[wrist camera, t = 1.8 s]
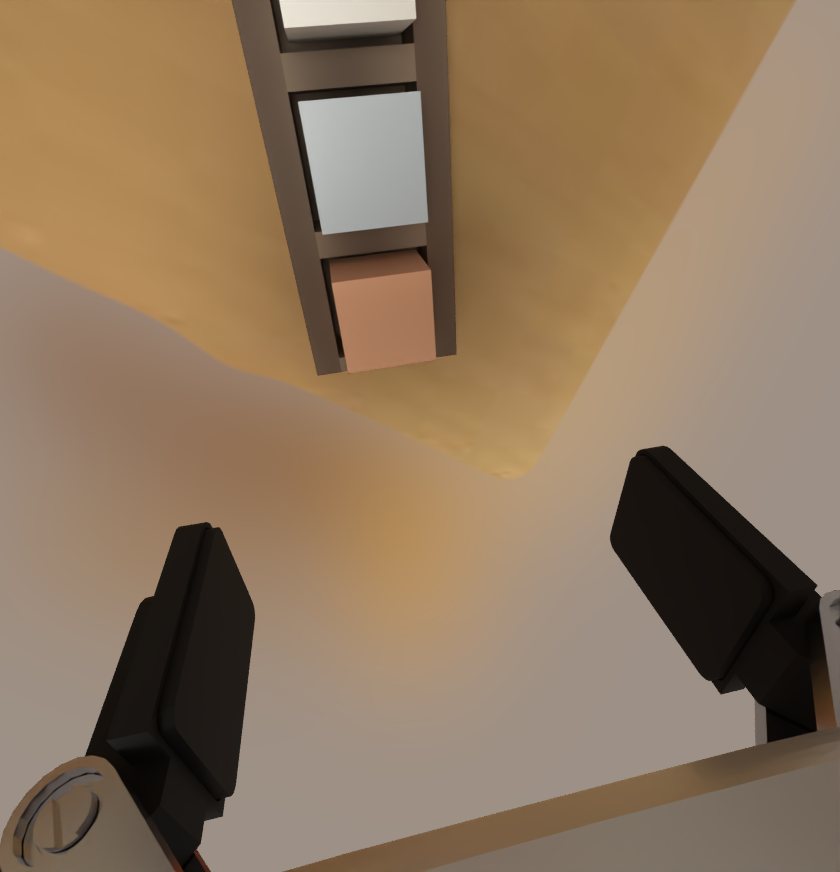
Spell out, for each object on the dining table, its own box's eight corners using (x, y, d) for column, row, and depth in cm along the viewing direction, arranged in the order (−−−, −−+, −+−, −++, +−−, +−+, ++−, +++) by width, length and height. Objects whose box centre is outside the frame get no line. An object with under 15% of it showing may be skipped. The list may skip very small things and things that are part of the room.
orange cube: (415, 249, 24) (431, 270, 21) (421, 330, 27) (436, 359, 23) (328, 260, 24) (331, 282, 20) (343, 341, 26) (348, 373, 23)
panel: (417, -150, 18) (439, -206, 15) (441, 328, 30) (456, 354, 27) (209, -144, 17) (185, -202, 14) (317, 346, 29) (317, 375, 26)
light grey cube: (403, 94, 20) (420, 91, 17) (411, 207, 23) (428, 222, 20) (300, 103, 20) (297, 101, 17) (321, 217, 22) (322, 234, 19)
